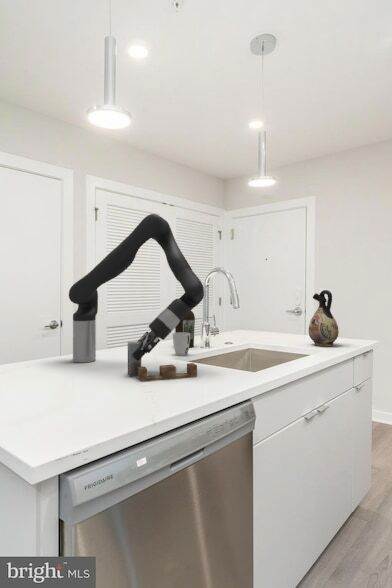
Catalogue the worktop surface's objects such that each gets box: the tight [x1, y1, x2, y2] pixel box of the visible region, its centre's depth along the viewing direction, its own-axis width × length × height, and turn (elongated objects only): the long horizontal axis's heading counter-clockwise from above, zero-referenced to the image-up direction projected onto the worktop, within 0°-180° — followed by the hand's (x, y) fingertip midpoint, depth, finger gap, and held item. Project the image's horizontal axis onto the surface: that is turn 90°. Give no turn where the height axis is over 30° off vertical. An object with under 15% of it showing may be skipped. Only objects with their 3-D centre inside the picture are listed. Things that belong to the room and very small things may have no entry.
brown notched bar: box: [137, 362, 198, 382], centre depth 131 cm, size 20×4×4 cm, turn 110°
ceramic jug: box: [308, 289, 339, 347], centre depth 205 cm, size 17×15×30 cm
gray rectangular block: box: [127, 341, 142, 378], centre depth 135 cm, size 4×4×12 cm
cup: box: [172, 332, 190, 357], centre depth 177 cm, size 8×8×10 cm
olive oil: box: [174, 310, 196, 349], centre depth 200 cm, size 11×11×25 cm
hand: (133, 357), depth 135 cm, fingers open, 8 cm apart
